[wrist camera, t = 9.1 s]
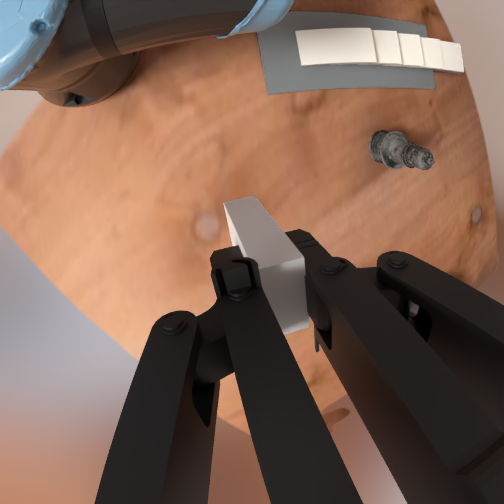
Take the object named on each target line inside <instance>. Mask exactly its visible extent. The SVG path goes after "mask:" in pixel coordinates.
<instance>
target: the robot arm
mask: <svg viewBox="0 0 504 504" xmlns="http://www.w3.org/2000/svg"><path fill="white" fill-rule="evenodd" d="M294 1H295V0H0V91H2V90H32V91H38V93H39V94H40V95H41V96H42V97H43V98H44V99H46V100H47V101H49V102H51V103H53V104H55V105H58V106H63V107H84V106H89V105H92V104H95V103H98V102H100V101H102V100H104V99H106V98H107V97H109V96H110V95H112V94H113V93H114V92H116V91H117V90H118V89H119V88H120V87H121V86H122V85H123V84H124V83H125V82H126V81H127V79H128V78H129V77H130V75H131V74H132V72H133V70H134V68H135V66H136V64H137V62H138V59H139V56H140V52H141V50H145V49H149V48H153V47H158V46H163V45H167V44H173V43H178V42H184V41H190V40H196V39H203V38H210V37H215V38H216V39H222V38H227V37H230V36H232V35H235V34H244V33H253V32H260V31H264V30H267V29H268V28H270V27H272V26H273V25H275V24H277V23H278V22H279V21H281V20H282V18H283V17H284V16H285V15H286V14H287V13H288V11H289V10H290V8H291V6H292V5H293V3H294ZM223 203H224V208H225V212H226V217H227V222H228V226H229V231H230V236H231V240H232V245H233V246H232V247H228V248H224V249H220V250H216V251H214V252H213V254H212V255H211V257H210V262H211V266H212V271H211V278H212V281H213V285H214V289H215V292H216V296H217V300H216V303H215V304H214V305H213V306H212V307H211V308H210V309H209V310H208V311H206V312H204V313H203V314H201V315H199V316H195V315H194V314H193V313H191V312H188V311H174V312H170V313H168V314H166V315H164V316H162V317H161V318H160V319H158V320H157V321H156V322H155V324H154V325H153V327H152V329H151V332H150V334H149V337H148V340H147V342H146V345H145V348H144V350H143V353H142V356H141V358H140V361H139V364H138V366H137V369H136V372H135V375H134V378H133V380H132V383H131V386H130V389H129V392H128V395H127V398H126V401H125V403H124V406H123V409H122V412H121V415H120V418H119V422H118V425H117V428H116V431H115V434H114V438H113V441H112V444H111V447H110V450H109V454H108V457H107V460H106V464H105V467H104V471H103V474H102V478H101V481H100V485H99V489H98V492H97V496H96V500H95V504H208V493H209V492H208V491H209V483H210V473H211V463H212V453H213V444H214V435H215V425H216V417H217V408H218V399H219V390H220V379H222V378H224V377H226V376H228V375H230V374H231V373H233V372H235V376H236V380H237V384H238V388H239V392H240V396H241V400H242V403H243V407H244V411H245V415H246V418H247V422H248V426H249V430H250V433H251V437H252V441H253V444H254V448H255V451H256V454H257V458H258V462H259V465H260V469H261V472H262V475H263V479H264V482H265V485H266V489H267V492H268V495H269V498H270V501H271V504H363V502H362V500H361V498H360V496H359V494H358V492H357V490H356V487H355V485H354V483H353V481H352V479H351V477H350V475H349V473H348V471H347V468H346V467H345V464H344V462H343V460H342V458H341V456H340V454H339V452H338V450H337V447H336V445H335V443H334V441H333V439H332V437H331V434H330V432H329V430H328V428H327V426H326V424H325V422H324V420H323V417H322V415H321V413H320V411H319V409H318V407H317V405H316V403H315V400H314V398H313V396H312V394H311V392H310V390H309V388H308V385H307V383H306V381H305V379H304V377H303V375H302V373H301V370H300V368H299V366H298V364H297V362H296V360H295V357H294V355H293V353H292V351H291V349H290V347H289V345H288V342H287V340H286V338H285V336H284V334H287V333H290V332H294V331H297V330H300V329H304V328H307V327H309V316H310V317H311V319H312V321H313V322H314V338H315V350H316V352H318V351H319V344H320V345H321V347H322V349H323V351H324V353H325V354H326V356H327V358H328V360H329V361H330V363H331V365H332V367H333V369H334V370H335V372H336V374H337V376H338V377H339V379H340V381H341V383H342V385H343V386H344V388H345V390H346V392H347V394H348V395H349V397H350V399H351V401H352V402H353V404H354V406H355V408H356V410H357V411H358V413H359V415H360V417H361V419H362V420H363V422H364V424H365V426H366V428H367V430H368V431H369V433H370V435H371V437H372V439H373V440H374V442H375V444H376V446H377V448H378V449H379V451H380V453H381V455H382V457H383V459H384V461H385V462H386V464H387V466H388V468H389V470H390V472H391V473H392V475H393V477H394V479H395V481H396V482H397V485H398V487H399V488H400V490H401V492H402V494H403V496H404V498H405V500H406V501H407V504H504V305H502V304H500V303H499V302H497V301H495V300H494V299H492V298H490V297H488V296H487V295H485V294H483V293H481V292H480V291H478V290H476V289H474V288H473V287H471V286H469V285H467V284H465V283H464V282H462V281H460V280H458V279H456V278H454V277H453V276H451V275H449V274H447V273H445V272H443V271H441V270H439V269H438V268H436V267H434V266H432V265H430V264H428V263H426V262H424V261H422V260H420V259H418V258H416V257H414V256H412V255H410V254H408V253H405V252H400V251H390V252H386V253H383V254H382V255H380V256H379V257H378V260H377V267H369V268H356V267H355V266H354V265H353V264H352V263H351V262H350V261H348V260H347V259H344V258H340V257H332V256H331V255H330V254H329V253H328V252H327V251H326V250H325V249H324V248H323V247H322V246H321V245H320V244H319V242H318V241H317V240H315V238H314V237H313V236H312V235H311V234H310V233H308V232H306V231H303V230H301V229H298V230H293V231H289V232H285V233H284V231H283V230H282V229H281V228H280V226H279V225H278V224H277V223H276V222H275V220H274V219H273V218H272V217H271V215H270V214H269V213H268V212H267V210H266V209H265V208H264V207H263V206H262V204H261V203H260V202H259V201H258V200H257V198H256V197H255V196H249V197H245V198H240V199H236V200H232V201H227V202H223ZM412 302H413V303H415V304H416V305H418V306H419V308H418V313H417V314H415V313H413V312H411V311H410V310H411V304H412Z"/></svg>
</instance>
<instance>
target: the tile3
mask: <svg viewBox="0 0 504 504" xmlns="http://www.w3.org/2000/svg"><path fill="white" fill-rule="evenodd" d="M397 36H398V42H399V48H400V54H401V60H402V64H399V65H401V66H419V67H421V66H424V60H423V54H422V48H421V42H420V36H419V35H415V34H403V33H397ZM358 65H398V64H358Z"/></svg>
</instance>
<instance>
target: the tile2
mask: <svg viewBox="0 0 504 504" xmlns="http://www.w3.org/2000/svg"><path fill="white" fill-rule="evenodd" d="M371 32H372V37H373V42H374V48H375V54H376V60H377V62H376V63H349V64H398V65H399V64H402V60H401V54H400V48H399V42H398V36H397V31H386V30H371ZM331 65H344V64H331Z"/></svg>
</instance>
